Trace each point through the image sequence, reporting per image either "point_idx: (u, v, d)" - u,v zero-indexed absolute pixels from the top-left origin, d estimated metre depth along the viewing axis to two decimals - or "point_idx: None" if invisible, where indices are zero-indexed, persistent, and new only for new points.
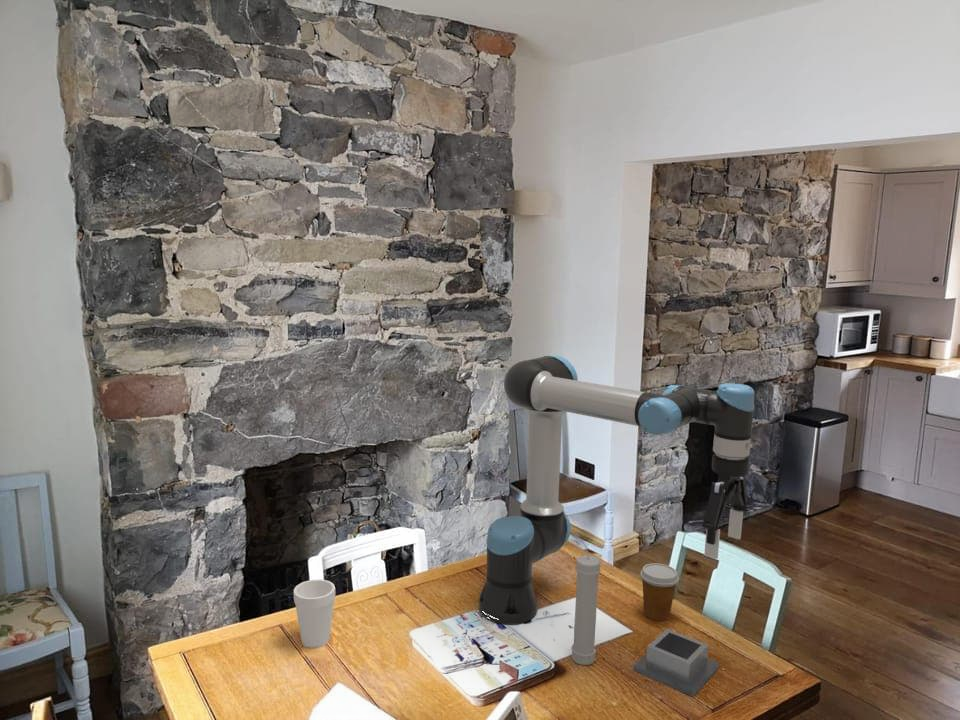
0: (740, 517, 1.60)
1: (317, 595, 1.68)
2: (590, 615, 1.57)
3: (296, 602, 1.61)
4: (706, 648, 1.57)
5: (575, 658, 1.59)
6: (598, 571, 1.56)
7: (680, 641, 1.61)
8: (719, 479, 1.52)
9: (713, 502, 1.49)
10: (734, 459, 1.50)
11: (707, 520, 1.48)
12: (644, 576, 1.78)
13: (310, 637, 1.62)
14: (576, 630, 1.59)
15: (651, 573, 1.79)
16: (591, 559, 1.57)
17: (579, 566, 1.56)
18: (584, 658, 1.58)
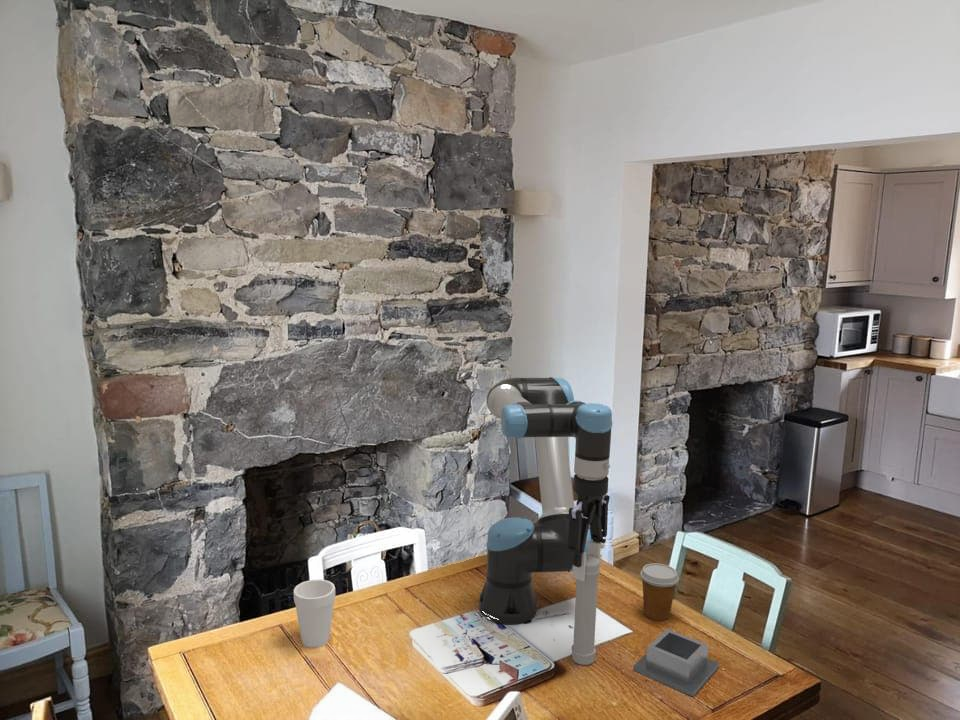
0: (597, 549, 1.58)
1: (317, 595, 1.68)
2: (590, 615, 1.57)
3: (296, 602, 1.61)
4: (706, 648, 1.57)
5: (575, 658, 1.59)
6: (598, 571, 1.56)
7: (680, 641, 1.61)
8: (578, 499, 1.52)
9: (573, 528, 1.51)
10: (591, 479, 1.51)
11: (571, 545, 1.52)
12: (644, 576, 1.78)
13: (310, 637, 1.62)
14: (576, 630, 1.59)
15: (651, 573, 1.79)
16: (591, 559, 1.57)
17: None
18: (584, 658, 1.58)
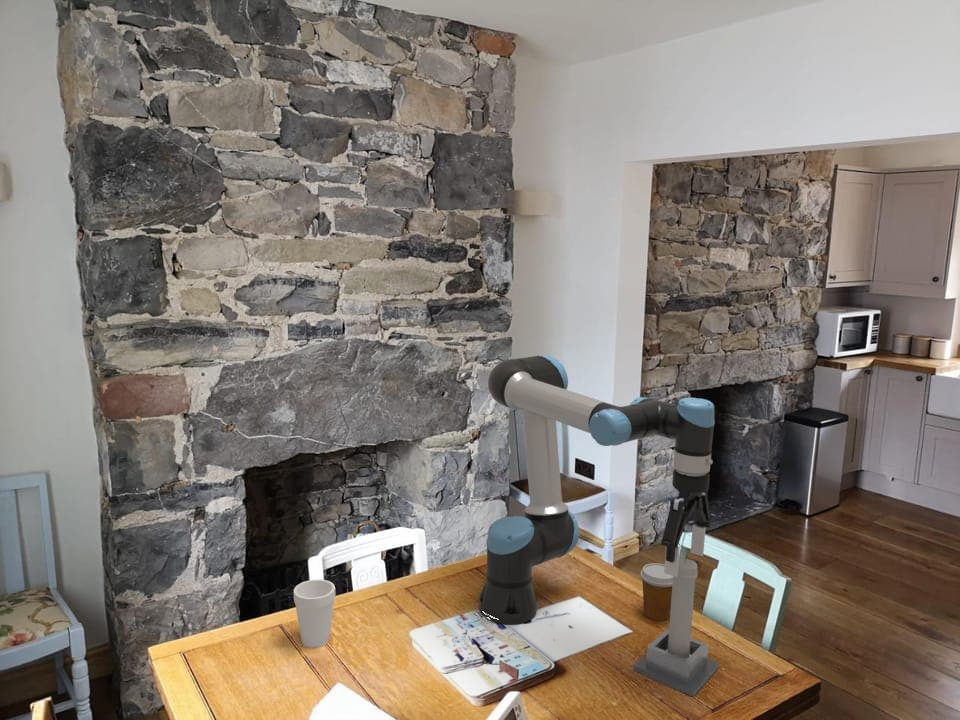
0: (702, 533, 1.57)
1: (317, 595, 1.68)
2: (687, 619, 1.54)
3: (296, 602, 1.61)
4: (706, 648, 1.57)
5: None
6: (696, 575, 1.53)
7: None
8: (679, 495, 1.49)
9: (672, 520, 1.46)
10: (694, 475, 1.48)
11: (666, 538, 1.46)
12: (644, 576, 1.78)
13: (310, 637, 1.62)
14: (672, 635, 1.56)
15: (651, 573, 1.79)
16: (688, 562, 1.54)
17: None
18: None
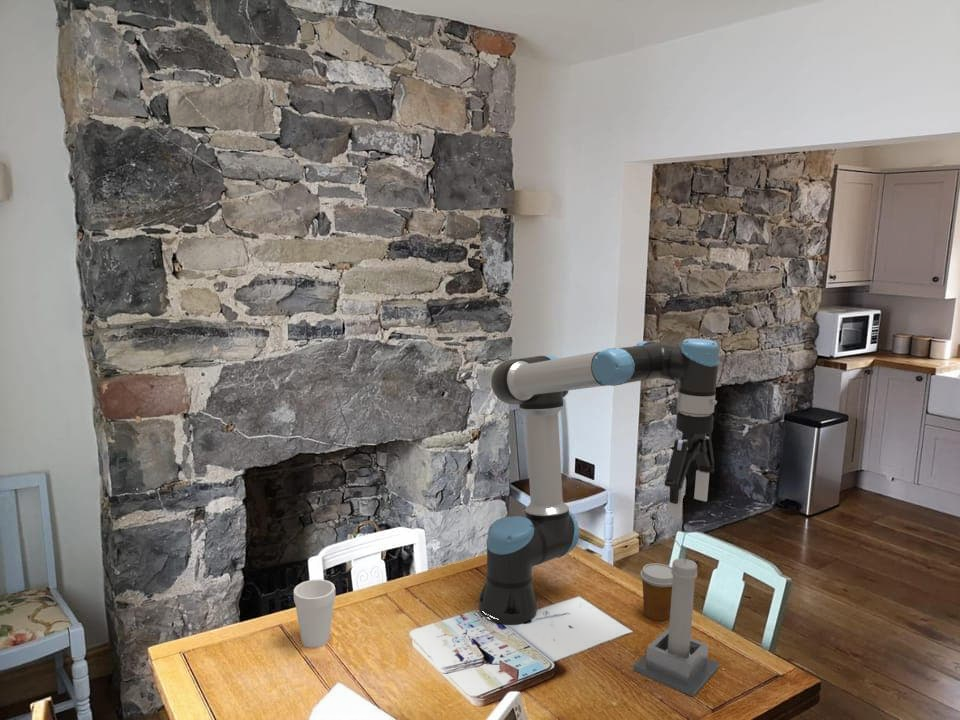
0: (706, 478, 1.55)
1: (317, 595, 1.68)
2: (687, 619, 1.54)
3: (296, 602, 1.61)
4: (706, 648, 1.57)
5: None
6: (696, 575, 1.53)
7: None
8: (683, 437, 1.47)
9: (676, 460, 1.44)
10: (698, 416, 1.46)
11: (669, 478, 1.44)
12: (644, 576, 1.78)
13: (310, 637, 1.62)
14: (671, 635, 1.56)
15: (651, 573, 1.79)
16: (688, 562, 1.54)
17: (676, 569, 1.53)
18: None
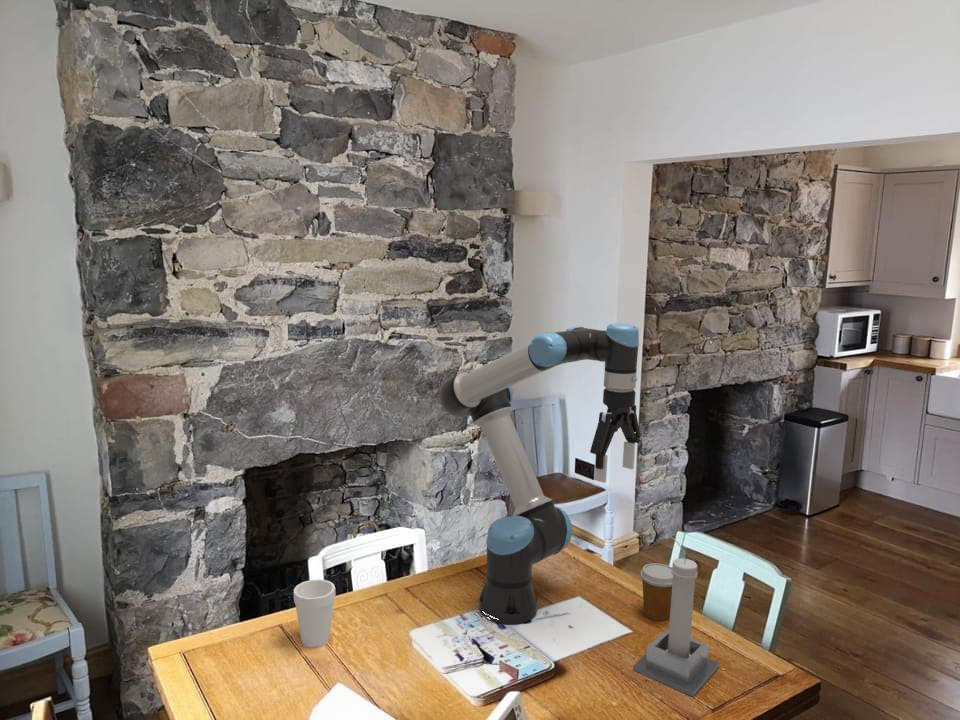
0: (632, 448, 1.74)
1: (317, 595, 1.68)
2: (687, 619, 1.54)
3: (296, 602, 1.61)
4: (706, 648, 1.57)
5: None
6: (696, 575, 1.53)
7: None
8: (607, 410, 1.66)
9: (600, 430, 1.63)
10: (620, 391, 1.64)
11: (594, 446, 1.62)
12: (644, 576, 1.78)
13: (310, 637, 1.62)
14: (672, 635, 1.56)
15: (651, 573, 1.79)
16: (688, 562, 1.54)
17: (676, 569, 1.53)
18: None
